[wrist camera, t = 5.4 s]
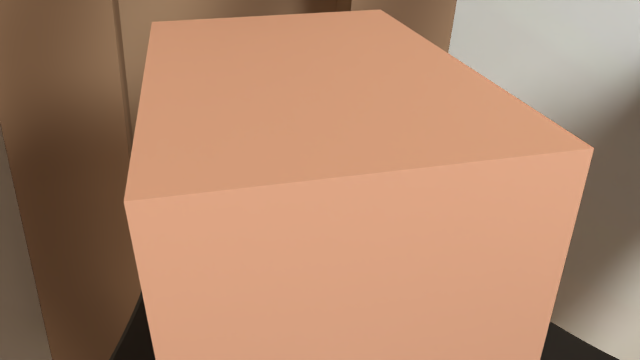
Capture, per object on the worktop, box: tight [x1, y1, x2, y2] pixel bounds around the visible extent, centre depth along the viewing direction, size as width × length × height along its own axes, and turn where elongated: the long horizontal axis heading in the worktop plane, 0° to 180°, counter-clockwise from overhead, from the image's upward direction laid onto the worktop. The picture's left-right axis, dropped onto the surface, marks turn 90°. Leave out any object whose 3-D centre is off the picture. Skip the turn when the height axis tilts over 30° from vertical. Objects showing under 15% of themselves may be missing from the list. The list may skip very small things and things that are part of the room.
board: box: [0, 0, 457, 360], centre depth 15 cm, size 12×18×5 cm, turn 177°
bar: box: [124, 9, 594, 360], centre depth 10 cm, size 10×4×6 cm, turn 0°
